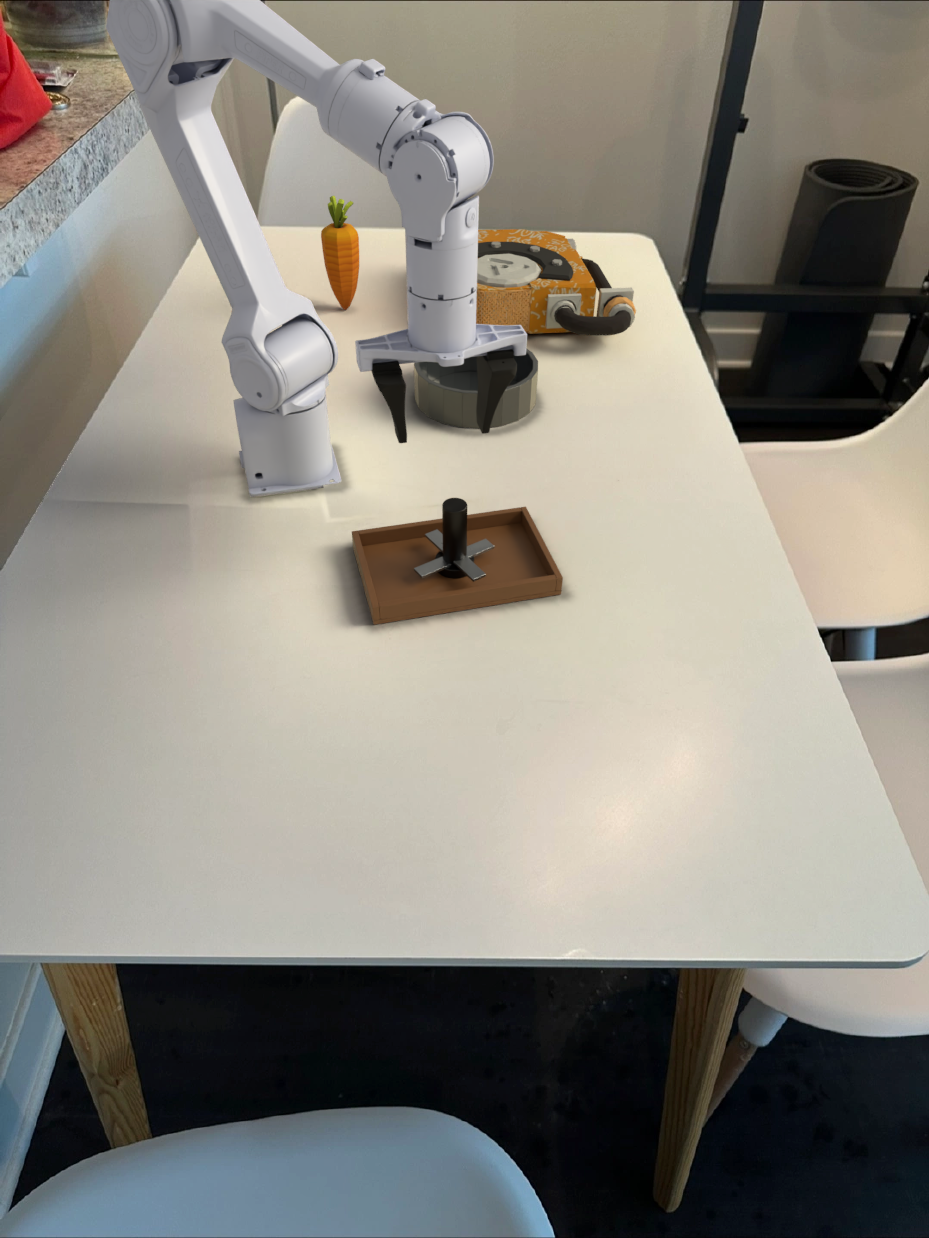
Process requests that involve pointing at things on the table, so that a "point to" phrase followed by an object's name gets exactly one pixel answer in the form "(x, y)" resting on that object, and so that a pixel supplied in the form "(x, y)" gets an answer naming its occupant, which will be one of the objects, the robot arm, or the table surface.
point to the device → (546, 286)
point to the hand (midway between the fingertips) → (442, 432)
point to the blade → (454, 545)
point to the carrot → (341, 253)
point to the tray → (402, 594)
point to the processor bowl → (473, 392)
